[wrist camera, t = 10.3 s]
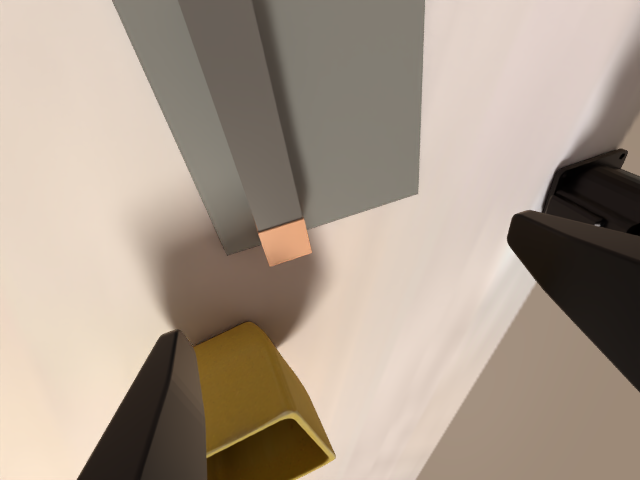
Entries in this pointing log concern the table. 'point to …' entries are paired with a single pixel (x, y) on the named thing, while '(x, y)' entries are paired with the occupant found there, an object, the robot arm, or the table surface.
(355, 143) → the slate board
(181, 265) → the table surface
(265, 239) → the block
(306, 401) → the flower pot
